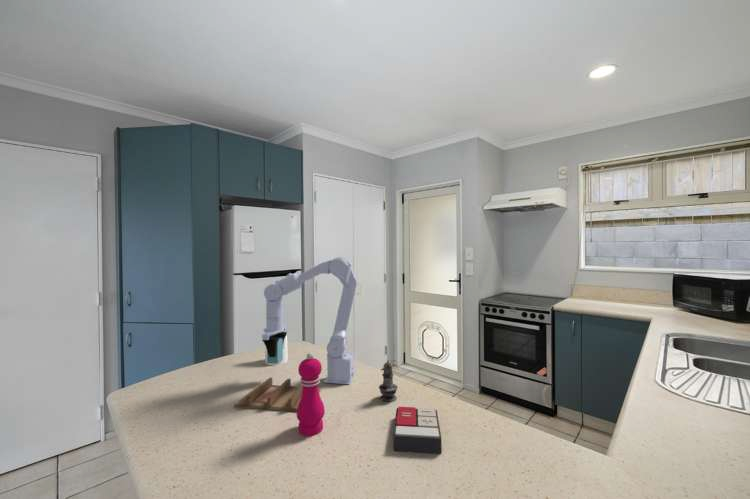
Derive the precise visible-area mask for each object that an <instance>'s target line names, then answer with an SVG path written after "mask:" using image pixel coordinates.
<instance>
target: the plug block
mask: <svg viewBox="0 0 750 499" xmlns="http://www.w3.org/2000/svg"><path fill="white" fill-rule="evenodd" d="M282 360H283V338H279V340H278V343H277V347H276V355H275V357H269V355H268V351H267V363H272V364H278V363H279V362H281V361H282Z"/></svg>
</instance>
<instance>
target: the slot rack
mask: <svg viewBox="0 0 750 499" xmlns="http://www.w3.org/2000/svg"><path fill="white" fill-rule="evenodd" d="M291 384H292V383H291V378H287V379H286V380H285V381H283V383H282V384H280V385H278V384H277V385H274V384H273V377H269V378H267V379H266V380H265V381H264V382H263V383H261V384H260V383H259V384H258V385H256V386H255V387H254V388H253V389H251V391H249V392H248V393H247V394H245V395H243V397H241V399H239V400H238V401H237V402H235V403H234V407H235V408H241V409H242V408H244V409H257V410H268V411H281V412H282V411H283V412H295V413H297V408H298V405H299V402H300V400H301V397H302V390H303V388H302V385H301V384H300V385H299V386H293V385H291ZM318 390H319V393H320V392H321V387H318Z"/></svg>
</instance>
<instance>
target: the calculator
mask: <svg viewBox="0 0 750 499" xmlns="http://www.w3.org/2000/svg"><path fill="white" fill-rule="evenodd" d="M395 410H396V411H395V419H394V428H393V438H392V439H393V441H392V445H393V447H392V449H393V451H394V452H399V453H400V452H402V453H417V454H430V455H431V454H432V455H441V454H442V452H443V450H442V433H441V428H440V427H441V426H440V423H439V416H438V415H439V414H438V411H437V409H436V408H433V407H417V408H416V407H413V406H412V407H411V406H398V407H397V408H396V409H395Z"/></svg>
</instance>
